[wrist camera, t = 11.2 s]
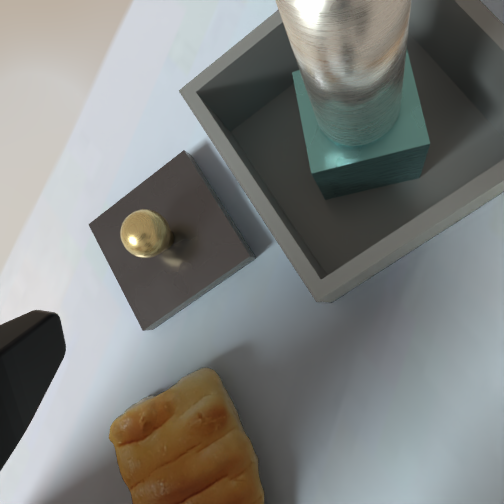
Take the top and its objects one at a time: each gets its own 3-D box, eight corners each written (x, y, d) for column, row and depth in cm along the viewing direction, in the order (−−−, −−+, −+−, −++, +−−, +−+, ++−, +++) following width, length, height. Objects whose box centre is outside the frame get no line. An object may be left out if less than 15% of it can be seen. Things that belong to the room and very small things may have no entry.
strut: (419, 177, 19) (476, -8, 8) (325, 200, 20) (255, 66, 9) (399, 91, 20) (423, -193, 9) (309, 117, 21) (225, -103, 10)
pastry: (311, 533, 20) (295, 585, 16) (198, 590, 21) (158, 650, 17) (216, 354, 22) (183, 364, 18) (120, 414, 23) (71, 435, 20)
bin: (541, 167, 18) (597, 119, 14) (331, 302, 20) (316, 301, 16) (391, 2, 21) (394, -85, 16) (220, 134, 23) (178, 90, 18)
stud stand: (255, 258, 22) (229, 248, 18) (152, 329, 23) (107, 334, 19) (192, 156, 24) (155, 127, 20) (99, 227, 25) (48, 213, 21)
